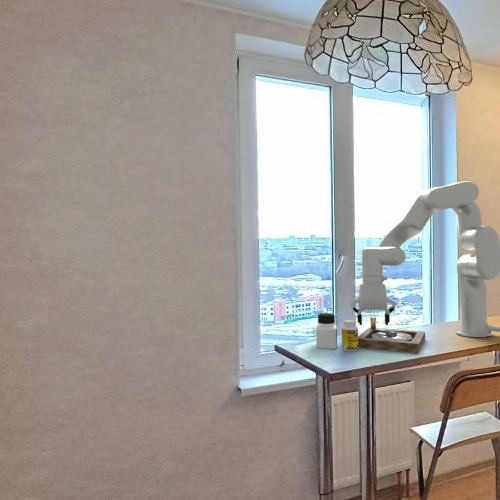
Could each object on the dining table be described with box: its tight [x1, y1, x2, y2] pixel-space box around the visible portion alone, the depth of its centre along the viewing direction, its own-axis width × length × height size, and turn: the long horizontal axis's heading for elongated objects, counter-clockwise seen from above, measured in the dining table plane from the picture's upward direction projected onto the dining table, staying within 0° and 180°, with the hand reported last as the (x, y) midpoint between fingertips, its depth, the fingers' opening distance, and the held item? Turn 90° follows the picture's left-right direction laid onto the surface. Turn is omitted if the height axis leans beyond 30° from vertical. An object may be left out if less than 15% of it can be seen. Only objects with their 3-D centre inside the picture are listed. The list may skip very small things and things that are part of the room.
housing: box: [358, 327, 426, 354], centre depth 160 cm, size 21×21×3 cm
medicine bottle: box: [315, 312, 338, 350], centre depth 158 cm, size 7×7×12 cm
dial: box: [369, 316, 412, 342], centre depth 161 cm, size 16×14×7 cm
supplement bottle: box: [341, 319, 359, 353], centre depth 152 cm, size 6×6×10 cm
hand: (373, 324), depth 167 cm, fingers open, 9 cm apart
